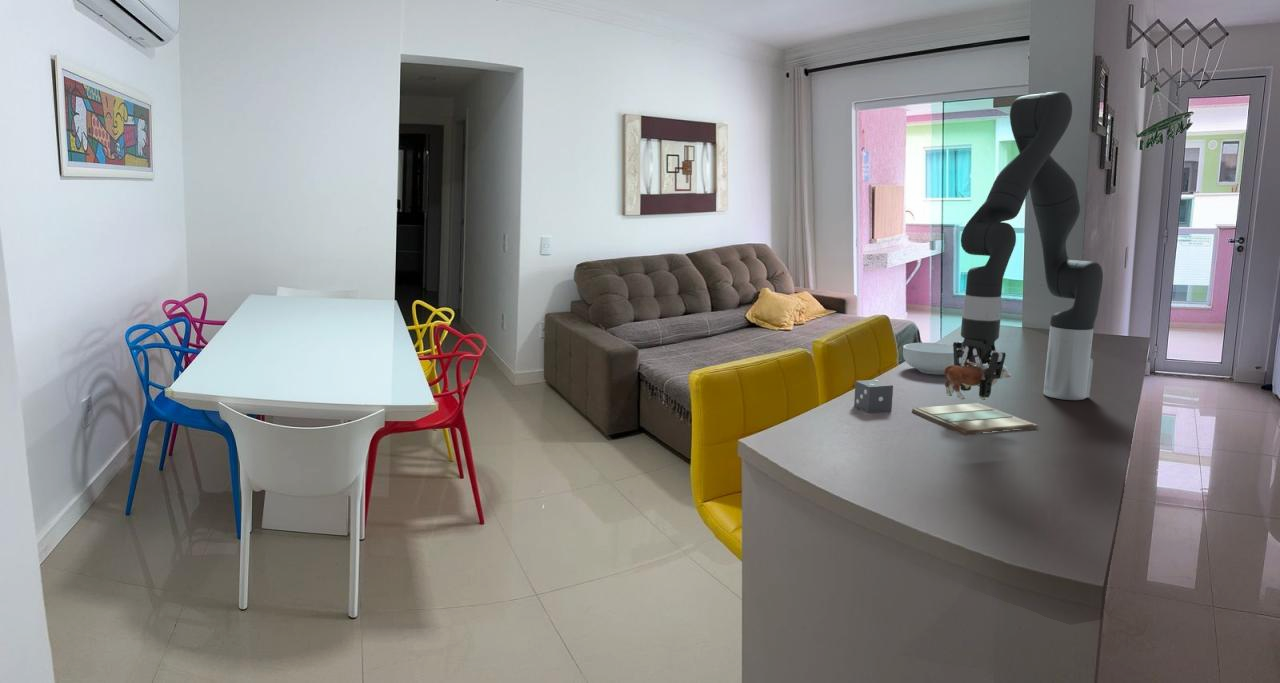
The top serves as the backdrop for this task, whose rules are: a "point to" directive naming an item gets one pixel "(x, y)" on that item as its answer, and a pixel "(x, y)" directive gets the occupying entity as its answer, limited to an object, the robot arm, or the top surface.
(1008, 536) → the top surface
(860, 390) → the die
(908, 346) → the cereal bowl
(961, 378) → the bull figurine
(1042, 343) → the top surface
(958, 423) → the paneled room divider
